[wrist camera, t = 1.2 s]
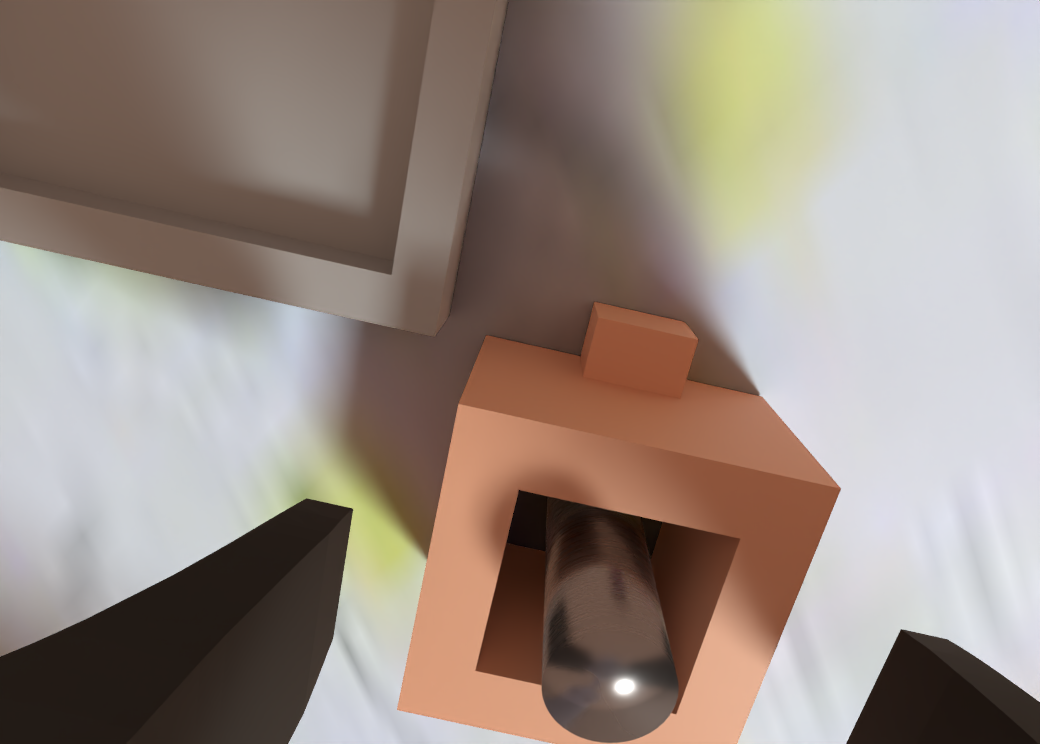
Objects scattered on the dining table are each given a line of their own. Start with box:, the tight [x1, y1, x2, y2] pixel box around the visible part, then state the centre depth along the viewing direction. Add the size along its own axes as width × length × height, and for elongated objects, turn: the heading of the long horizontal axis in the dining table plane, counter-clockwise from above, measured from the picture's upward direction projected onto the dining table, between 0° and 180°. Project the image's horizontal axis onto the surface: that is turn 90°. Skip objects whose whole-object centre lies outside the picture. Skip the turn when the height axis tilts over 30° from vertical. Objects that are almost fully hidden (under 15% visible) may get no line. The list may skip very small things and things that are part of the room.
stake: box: [541, 496, 679, 743], centre depth 10 cm, size 2×2×5 cm
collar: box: [397, 302, 841, 744], centre depth 11 cm, size 6×5×4 cm
